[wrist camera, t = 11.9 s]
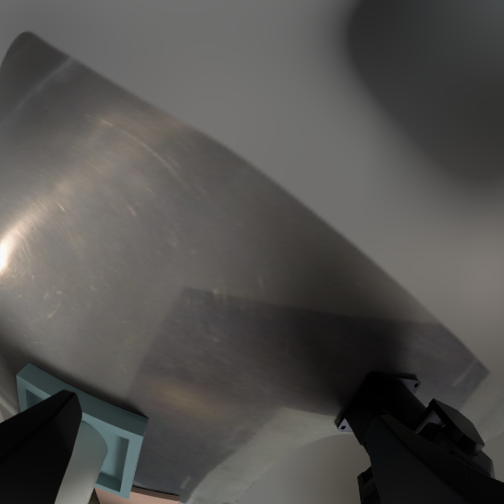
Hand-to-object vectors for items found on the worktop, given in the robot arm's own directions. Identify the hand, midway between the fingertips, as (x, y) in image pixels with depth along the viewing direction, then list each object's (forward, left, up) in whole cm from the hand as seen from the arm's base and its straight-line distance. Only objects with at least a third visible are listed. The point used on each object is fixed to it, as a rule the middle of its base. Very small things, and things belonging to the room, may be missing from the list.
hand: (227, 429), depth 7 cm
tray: (+8, +19, -13) cm, 24 cm away
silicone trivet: (+1, +29, -13) cm, 31 cm away
